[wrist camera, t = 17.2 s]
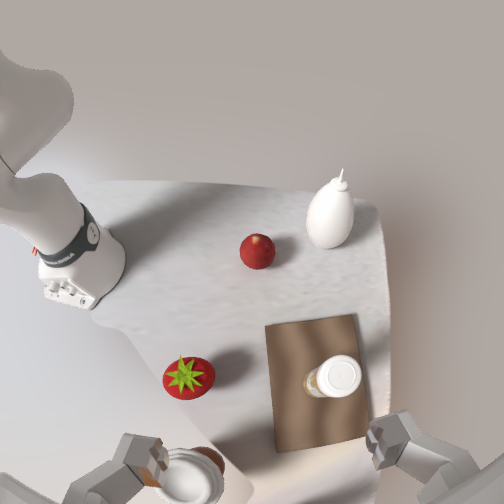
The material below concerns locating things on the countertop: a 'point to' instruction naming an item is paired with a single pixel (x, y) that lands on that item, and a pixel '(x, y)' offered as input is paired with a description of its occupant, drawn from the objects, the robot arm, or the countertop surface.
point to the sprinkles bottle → (334, 378)
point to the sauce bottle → (331, 214)
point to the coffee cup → (193, 477)
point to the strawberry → (188, 378)
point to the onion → (257, 251)
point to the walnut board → (292, 389)
